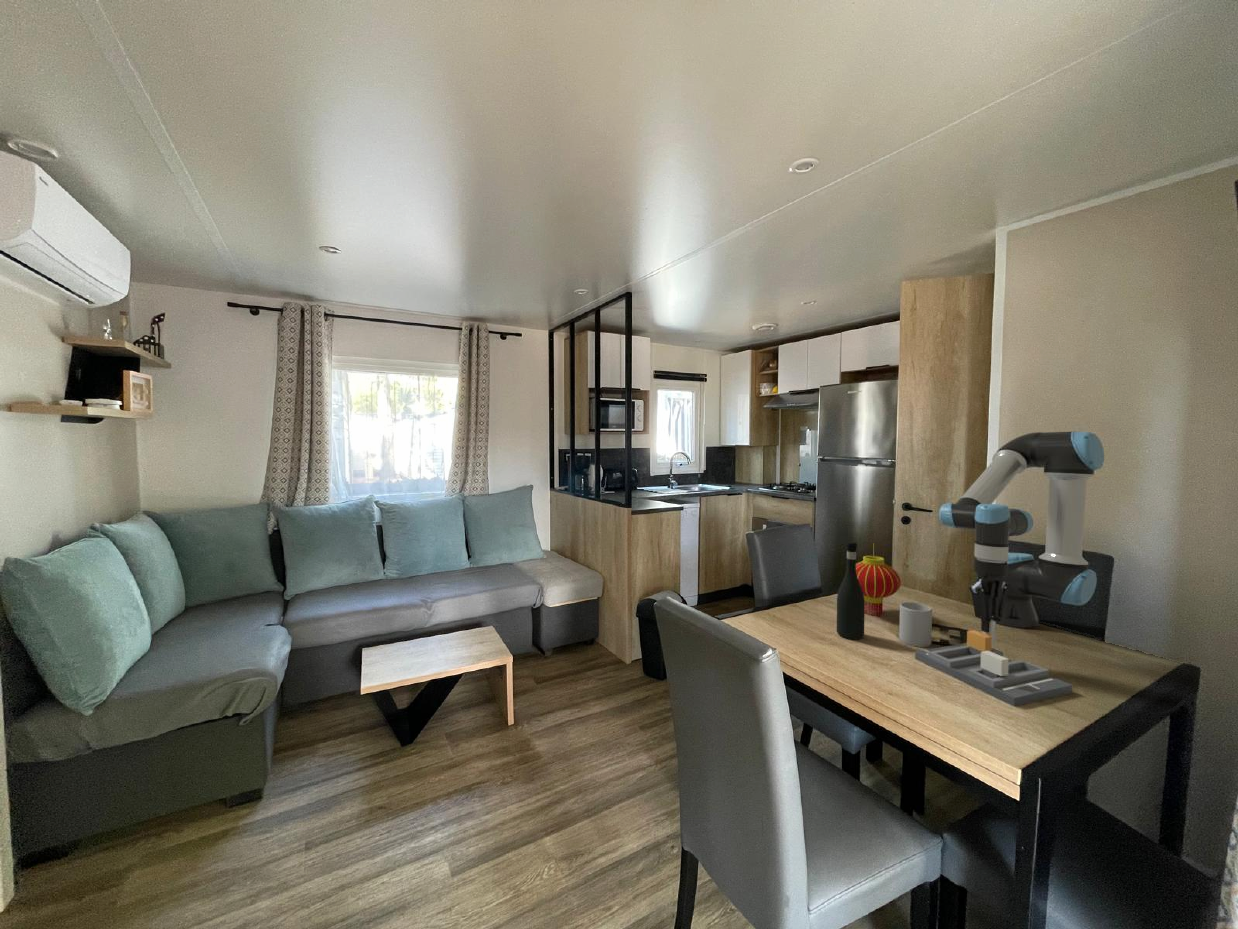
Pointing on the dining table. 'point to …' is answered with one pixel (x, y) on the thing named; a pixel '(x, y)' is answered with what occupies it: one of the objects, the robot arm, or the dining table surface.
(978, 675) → the grey flat slotted tray
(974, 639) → the block
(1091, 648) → the dining table surface
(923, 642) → the mug
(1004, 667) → the fader
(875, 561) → the lantern
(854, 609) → the wine bottle
